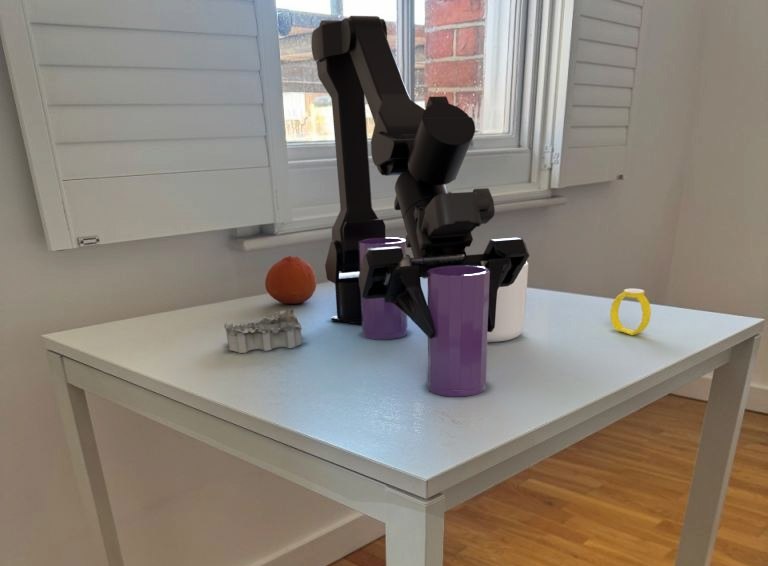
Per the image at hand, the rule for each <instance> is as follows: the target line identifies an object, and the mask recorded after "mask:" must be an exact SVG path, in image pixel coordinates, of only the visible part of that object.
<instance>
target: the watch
mask: <svg viewBox="0 0 768 566" xmlns="http://www.w3.org/2000/svg"><path fill="white" fill-rule="evenodd" d="M645 293H646V292H645V290H644V289H641V288H635V287H634V288H633V287H632V288H625V289H623V292H622V293H620V294H618V295H617V296H616V297H615V299H614V300H613V301H612V303H611V308H610V312H609V314H610V321H611V324H612V326H613V328H614V330H615V331H618V332H620V333H624V334H627V335H630V336H636V335H638V334H640V333H642V332H643V331H645V330H646V328H647V327H648V325H649V324H650V321H651V314H652V310H651V305H650V302H649V299H648V298H647V297H646V296H645ZM626 297H627V298H633V299H636V300H637V301H638V303H640V306H641V311H642V316H641V322H640V323H639V326H638V327H637V329H635V330H633V329H630V328H628V327H625V326H624V325H623V324H622V322H621V321H620V315H619V310H620V305H621V303H622V302H623V300H624V299H625V298H626Z"/></svg>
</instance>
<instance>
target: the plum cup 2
mask: <svg viewBox="0 0 768 566" xmlns="http://www.w3.org/2000/svg"><path fill="white" fill-rule="evenodd" d="M489 295H490V269H489V268H486V267H481V266H472V265H451V266H441V267H435V268H432V269H429V270H428V278H427V305H428V308H429V311H430V314H431V317H432V320H433V325H434V330H435V335H434V337H433V338H431V339H430V338H429V337H428V336H427V389H428V391H430V392H431V393H433V394H435V395H439V396H443V397H452V398H453V397H454V398H455V397H456V398H458V397H459V398H460V397H471V396H475V395H479V394H481V393H482V392H484V391H485V390H486V387H487V386H486V385H487V384H486V383H487V382H486V381H487V364H488V362H487V361H488V343H489V342H488V319H489Z"/></svg>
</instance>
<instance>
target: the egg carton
mask: <svg viewBox="0 0 768 566" xmlns="http://www.w3.org/2000/svg"><path fill="white" fill-rule="evenodd" d="M224 329H225V332H226V339H227V340H226V341H227V345H228V348H229V351H231V352H235V353H239V354H246V353H248V352H250V351H254V350H262V351H265V352H268V351H271V350H273V349H275V348H287V349H294V348H296V347H298V346H302V344H303V338H302V329H303V327H302V325H301V323H300V322H299V320H298V317H297V315H296V312H294V309H293V308H291V309H283V310H279V311H276V312H273V314H272V316H271V317H266V316H265V317H264V316H263V317H262V318H261V319H259V320H255V321H251V320H250V321H246V322H241V323H240V324H235V325H233V323H231V324H227V323H224Z"/></svg>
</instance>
